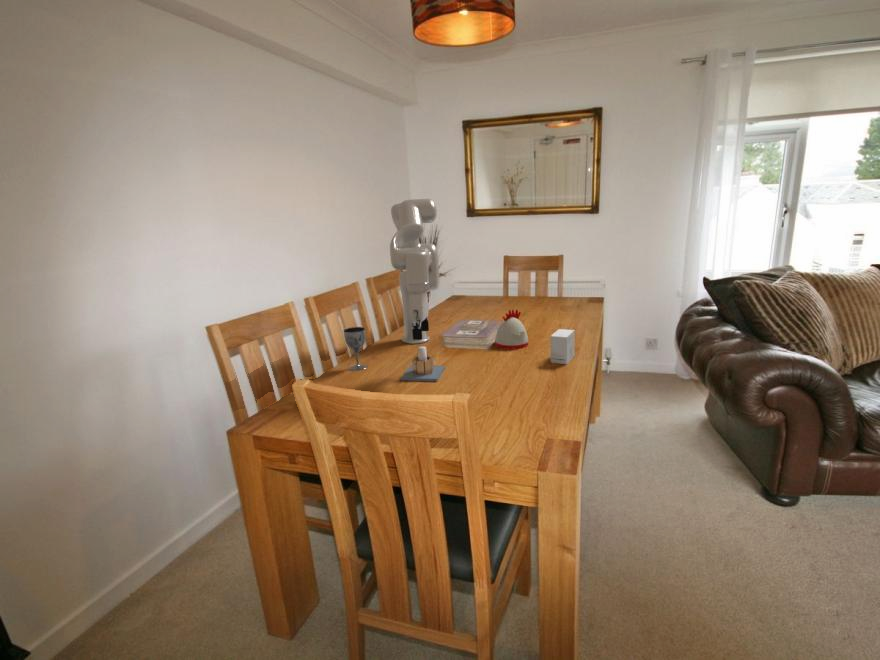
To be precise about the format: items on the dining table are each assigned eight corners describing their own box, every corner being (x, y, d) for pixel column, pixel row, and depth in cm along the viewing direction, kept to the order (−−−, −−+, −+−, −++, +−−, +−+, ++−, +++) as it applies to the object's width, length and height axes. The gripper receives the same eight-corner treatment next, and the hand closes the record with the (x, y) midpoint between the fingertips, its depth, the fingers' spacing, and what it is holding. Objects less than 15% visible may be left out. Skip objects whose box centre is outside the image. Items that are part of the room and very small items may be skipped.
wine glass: (348, 372, 172) (344, 333, 168) (346, 365, 179) (342, 328, 175) (369, 369, 174) (366, 330, 170) (367, 362, 181) (363, 325, 177)
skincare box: (558, 354, 181) (558, 328, 178) (574, 356, 177) (575, 329, 175) (549, 362, 172) (549, 335, 169) (566, 364, 169) (567, 337, 166)
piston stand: (410, 367, 174) (409, 342, 171) (444, 368, 171) (443, 342, 168) (401, 380, 161) (399, 353, 159) (437, 381, 159) (436, 353, 156)
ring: (416, 367, 170) (415, 355, 169) (435, 368, 168) (434, 355, 167) (411, 374, 163) (410, 361, 162) (430, 375, 162) (429, 361, 161)
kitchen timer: (534, 346, 192) (534, 310, 188) (505, 351, 187) (505, 315, 183) (517, 337, 204) (517, 304, 200) (489, 342, 200) (488, 308, 196)
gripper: (414, 282, 167) (416, 327, 172) (400, 293, 151) (404, 342, 156) (434, 282, 165) (436, 328, 170) (422, 293, 149) (425, 343, 154)
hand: (421, 335), depth 163 cm, fingers open, 9 cm apart
